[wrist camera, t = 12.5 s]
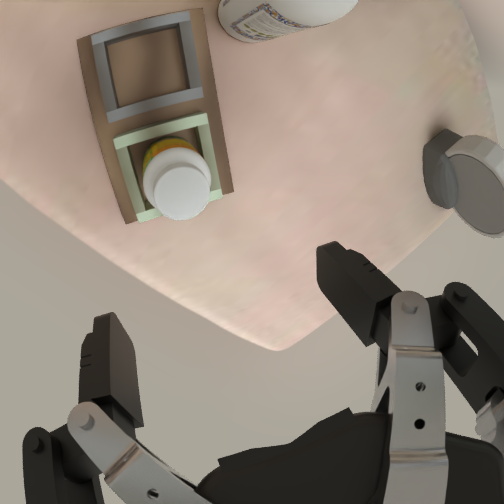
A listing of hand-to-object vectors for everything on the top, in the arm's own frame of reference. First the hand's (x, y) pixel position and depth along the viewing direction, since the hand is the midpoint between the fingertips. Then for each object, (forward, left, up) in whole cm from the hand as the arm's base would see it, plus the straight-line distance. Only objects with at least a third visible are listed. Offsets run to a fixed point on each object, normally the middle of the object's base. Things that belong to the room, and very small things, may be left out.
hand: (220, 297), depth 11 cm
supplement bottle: (0, 0, -21) cm, 21 cm away
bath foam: (-11, -14, -22) cm, 28 cm away
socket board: (0, -5, -22) cm, 23 cm away
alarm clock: (-43, +9, -22) cm, 49 cm away
